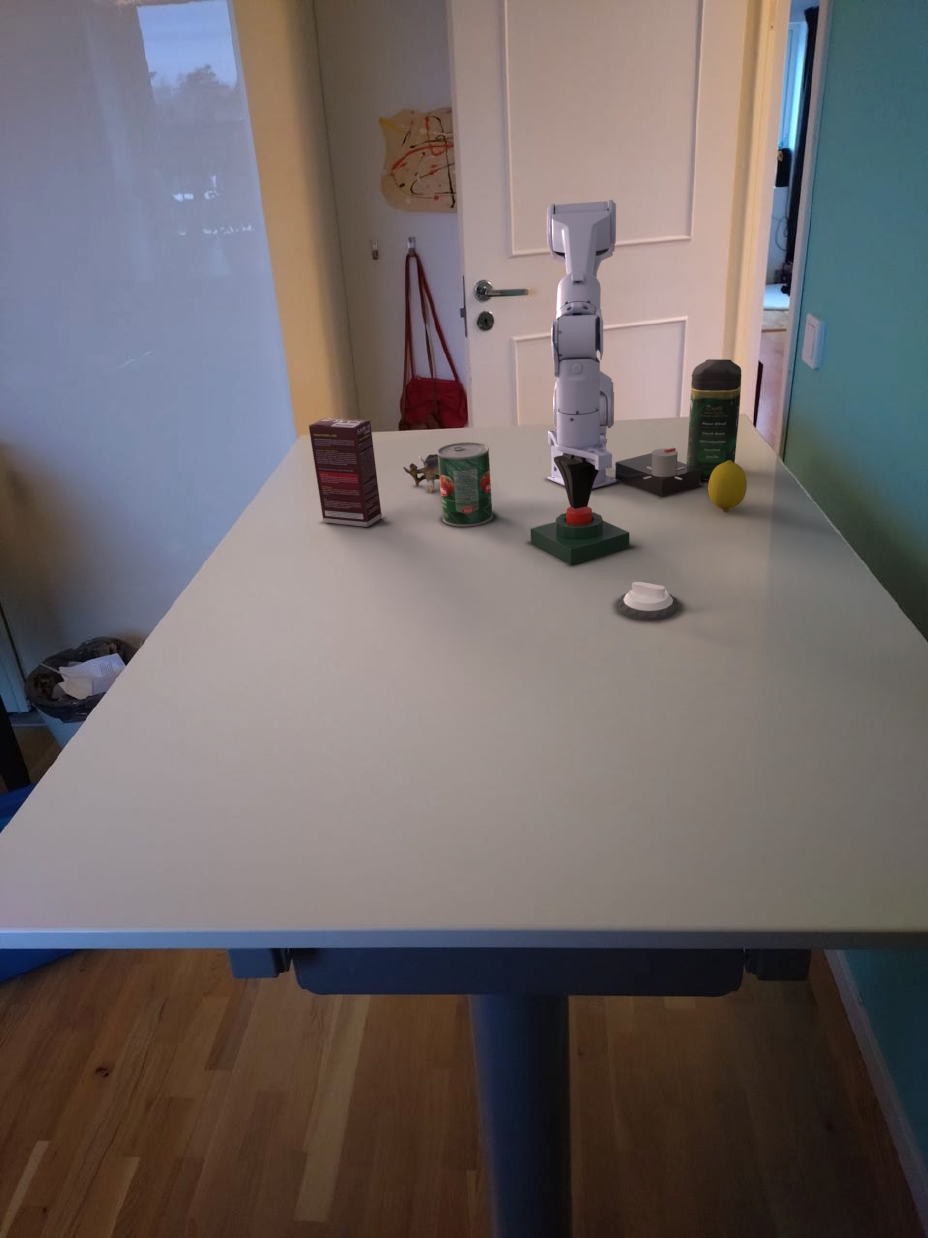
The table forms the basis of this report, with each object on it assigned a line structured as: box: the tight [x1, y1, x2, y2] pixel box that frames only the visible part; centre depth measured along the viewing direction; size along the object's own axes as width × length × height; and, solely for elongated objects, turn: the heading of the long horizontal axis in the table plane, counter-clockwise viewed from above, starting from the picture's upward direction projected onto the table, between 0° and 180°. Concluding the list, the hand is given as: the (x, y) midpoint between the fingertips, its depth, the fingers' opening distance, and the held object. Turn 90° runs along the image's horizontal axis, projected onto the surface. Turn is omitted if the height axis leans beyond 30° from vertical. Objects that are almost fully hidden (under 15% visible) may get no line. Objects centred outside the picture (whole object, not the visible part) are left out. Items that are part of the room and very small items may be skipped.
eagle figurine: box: [403, 453, 440, 493], centre depth 153 cm, size 8×7×9 cm
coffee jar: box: [686, 358, 742, 481], centre depth 148 cm, size 10×8×19 cm
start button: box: [565, 505, 593, 525], centre depth 126 cm, size 4×4×2 cm
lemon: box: [707, 460, 748, 513], centre depth 134 cm, size 6×6×8 cm
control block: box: [530, 511, 630, 566], centre depth 127 cm, size 10×10×4 cm
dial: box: [651, 447, 679, 477], centre depth 143 cm, size 4×4×4 cm
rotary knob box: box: [614, 452, 701, 498], centre depth 148 cm, size 14×10×3 cm
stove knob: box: [617, 581, 680, 622], centre depth 108 cm, size 7×7×3 cm
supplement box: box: [308, 417, 382, 528], centre depth 140 cm, size 9×5×16 cm, turn 65°
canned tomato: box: [436, 441, 494, 528], centre depth 138 cm, size 8×8×11 cm
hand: (579, 506), depth 125 cm, fingers closed
